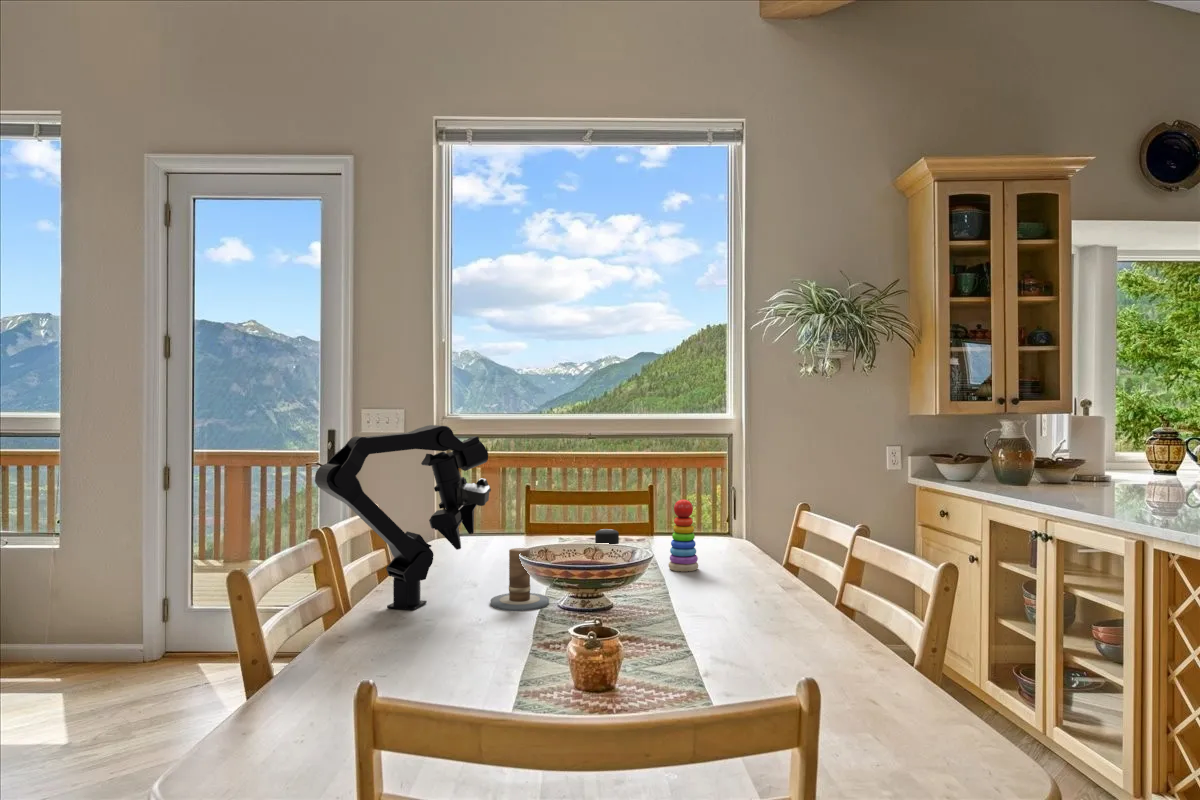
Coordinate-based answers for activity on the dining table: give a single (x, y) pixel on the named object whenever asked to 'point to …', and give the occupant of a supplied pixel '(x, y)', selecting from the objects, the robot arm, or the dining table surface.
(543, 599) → the hub plate
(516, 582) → the brown cylinder
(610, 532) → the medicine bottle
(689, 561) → the stacking toy
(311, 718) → the dining table surface
